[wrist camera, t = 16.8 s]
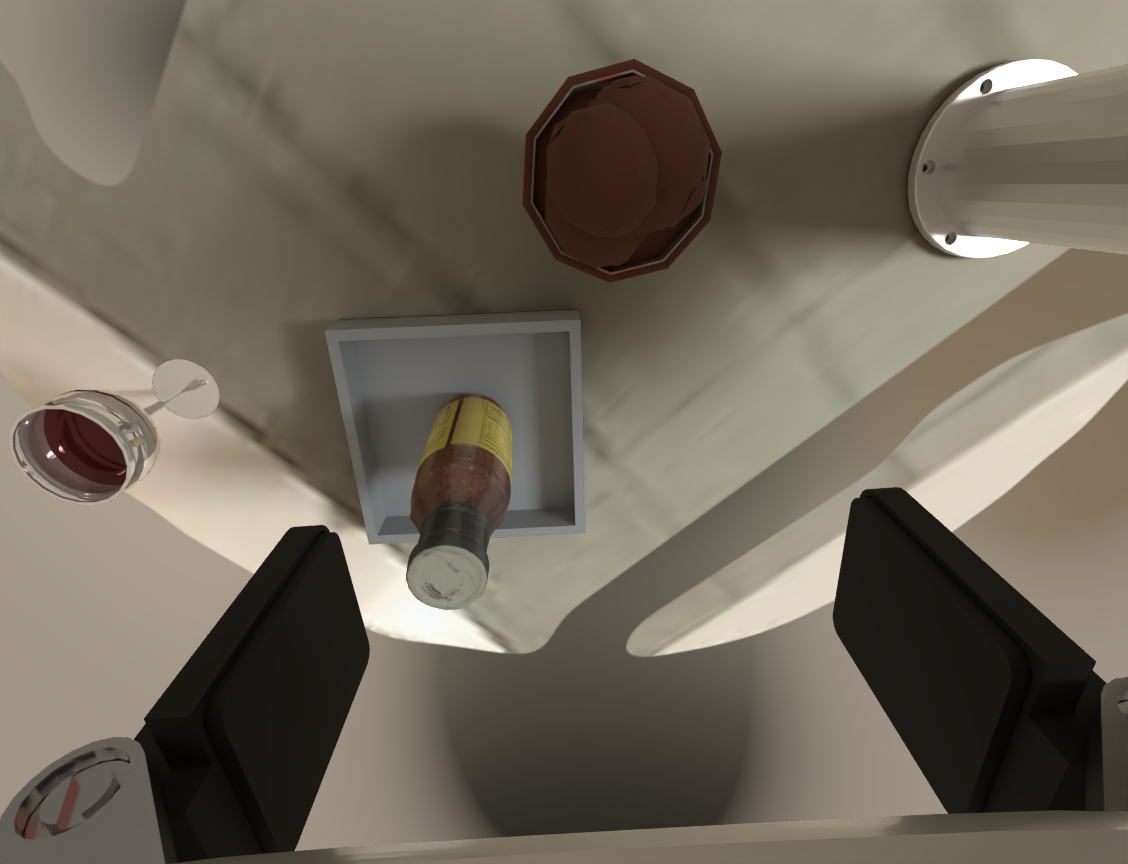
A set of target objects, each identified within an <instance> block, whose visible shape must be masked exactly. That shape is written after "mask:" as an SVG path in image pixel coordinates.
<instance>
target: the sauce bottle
mask: <svg viewBox="0 0 1128 864" xmlns="http://www.w3.org/2000/svg"><path fill="white" fill-rule="evenodd" d="M511 471H512V429H511V425H510V421H509V419H508V417H507V415H506V413H505V412H504V410H503V409H502V408H501V406H499V405H498V404H497V403H496V402H495V400H493V399H492V398H490V397H486V396H483V395H475V394H469V395H466V394H465V395H460V396H458V397H455V398H453V399H452V400H451V401H449V402H448V403H447V404H446V405H445V406H444V407H443V408H442V410H441V411H440V412H439V413H438V415H437V417H436V419H435V421H434V424H433V427H432V430H431V433H430V435H429V438H428V441H427V444H426V447H425V450H424V453H423V456H422V459H421V462H420V465H419V467H418V470H417V473H416V476H415V483H414V486H413V490H412V496H411V513H410V520H411V521H412V522H413V523H414V525H415V526H416V528H417V530H418V532H419V533H420V537H419V541H418V544H417V545H416V546H415V547H414V549H413V550H412V552H411V554H410V556H409V560H408V566H407V572H406V581H407V583H408V587H409V589H410V591H411V592H412V594H413V595H414V596H415V597H416V598H417V599H418V600H419V601H421V602H423V603H425V604H426V605H429V606H432V607H435V608H440V609H444V610H450V609H451V610H455V609H460V608H463V607H466V606H468V605H470V604H471V603H472V602H474V601H475V600H476V599H477V598H479V597H480V596H481V595H482V593H483V591H484V589H485V587H486V584H487V578H488V572H489V560H488V556H487V553H486V552H487V546H488V543H489V540H490V537H491V535H492V534H493V532H494V531H495V529H496V528H498V526H499V525H500V524H501V522H502V521H503V519H504V517H505V515H506V513H507V511H508V507H509V503H510V497H511Z"/></svg>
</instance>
